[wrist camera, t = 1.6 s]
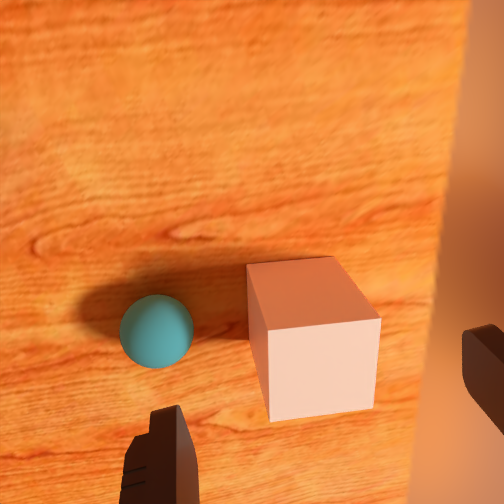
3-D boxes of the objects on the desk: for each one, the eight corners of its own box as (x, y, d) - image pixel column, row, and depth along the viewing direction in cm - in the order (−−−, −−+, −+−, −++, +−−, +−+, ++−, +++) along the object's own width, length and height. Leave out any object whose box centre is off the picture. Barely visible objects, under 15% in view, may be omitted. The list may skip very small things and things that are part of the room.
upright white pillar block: (330, 331, 37) (373, 408, 29) (249, 340, 37) (269, 422, 29) (334, 256, 35) (381, 318, 27) (246, 264, 34) (268, 330, 26)
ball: (179, 347, 36) (180, 390, 31) (114, 331, 35) (105, 374, 30) (202, 292, 34) (206, 330, 30) (135, 273, 33) (128, 309, 28)
